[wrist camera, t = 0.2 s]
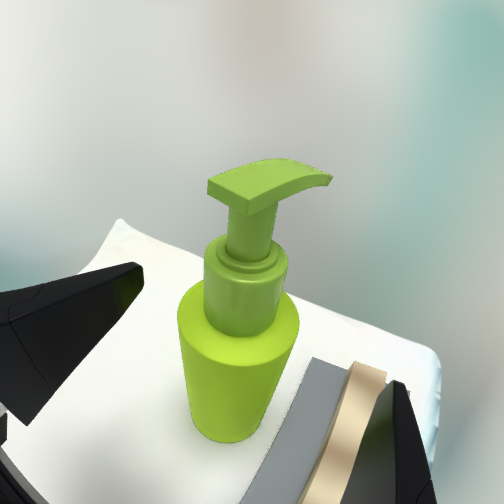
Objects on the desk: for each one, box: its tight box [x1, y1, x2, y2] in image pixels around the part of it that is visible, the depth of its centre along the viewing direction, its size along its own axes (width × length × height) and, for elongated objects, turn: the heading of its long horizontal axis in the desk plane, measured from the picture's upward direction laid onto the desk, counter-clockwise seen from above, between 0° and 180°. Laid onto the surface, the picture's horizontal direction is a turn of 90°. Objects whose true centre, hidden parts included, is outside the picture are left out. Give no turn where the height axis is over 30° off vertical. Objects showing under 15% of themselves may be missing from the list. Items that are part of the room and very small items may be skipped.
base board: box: [239, 357, 410, 504], centre depth 17 cm, size 20×11×1 cm, turn 155°
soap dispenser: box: [177, 158, 333, 443], centre depth 16 cm, size 6×7×20 cm
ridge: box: [296, 361, 387, 504], centre depth 16 cm, size 20×4×2 cm, turn 155°
